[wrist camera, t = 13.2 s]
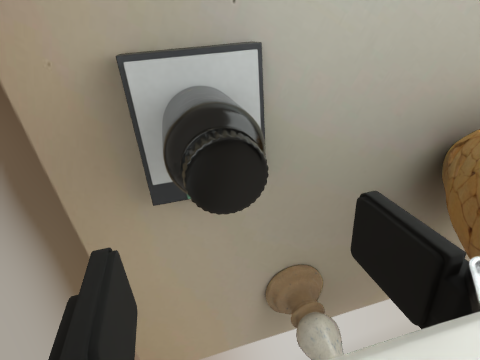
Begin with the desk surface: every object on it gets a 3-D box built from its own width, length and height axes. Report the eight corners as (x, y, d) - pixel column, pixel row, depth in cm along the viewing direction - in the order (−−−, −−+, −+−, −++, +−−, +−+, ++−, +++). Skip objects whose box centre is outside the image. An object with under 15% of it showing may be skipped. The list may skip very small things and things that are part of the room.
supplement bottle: (246, 143, 28) (296, 206, 18) (179, 168, 28) (191, 248, 17) (224, 71, 25) (270, 98, 14) (148, 98, 24) (139, 147, 14)
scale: (153, 194, 31) (153, 208, 29) (119, 54, 25) (114, 56, 22) (259, 175, 34) (267, 186, 31) (253, 41, 27) (263, 42, 25)
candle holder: (317, 255, 42) (431, 418, 24) (322, 295, 46) (422, 458, 28) (259, 276, 41) (334, 461, 23) (270, 315, 45) (340, 496, 27)
